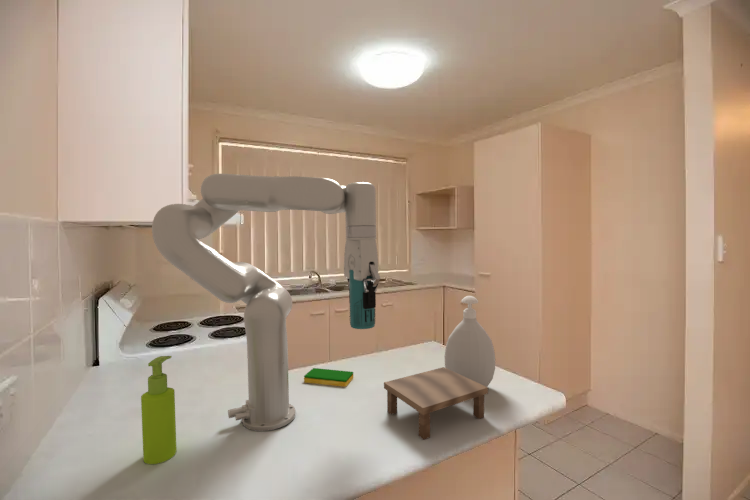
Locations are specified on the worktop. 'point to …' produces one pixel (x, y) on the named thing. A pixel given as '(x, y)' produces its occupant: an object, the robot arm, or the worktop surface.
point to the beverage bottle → (359, 305)
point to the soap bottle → (470, 348)
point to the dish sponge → (328, 377)
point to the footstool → (434, 394)
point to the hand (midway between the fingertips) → (362, 305)
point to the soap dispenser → (158, 416)
